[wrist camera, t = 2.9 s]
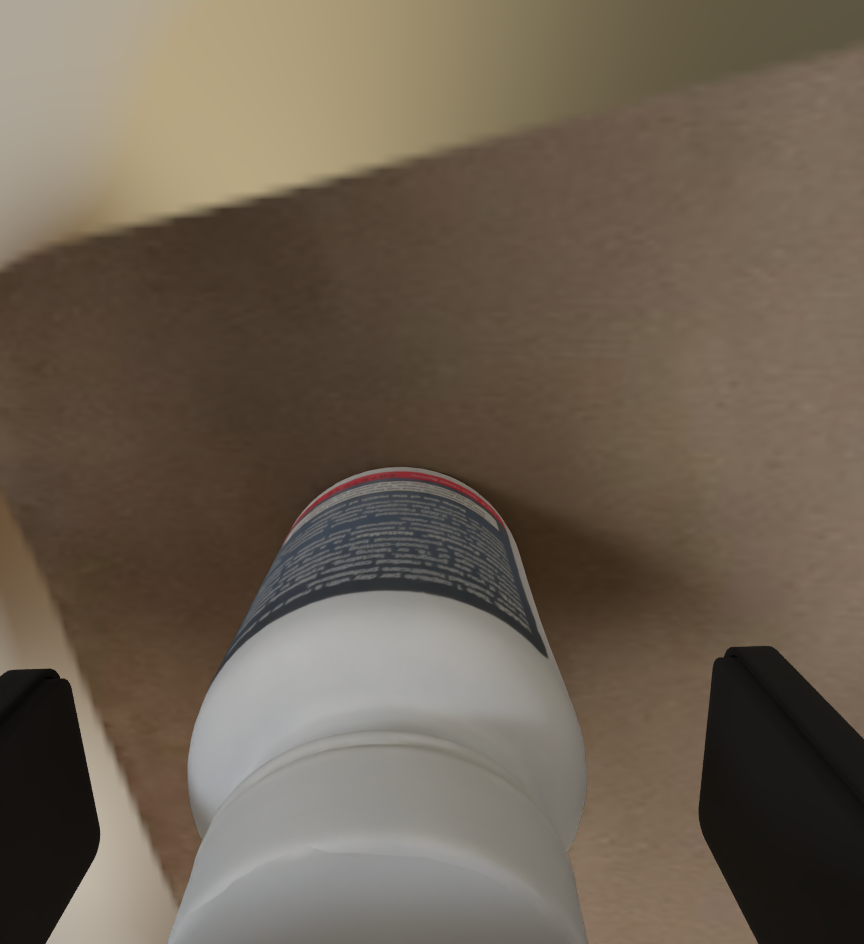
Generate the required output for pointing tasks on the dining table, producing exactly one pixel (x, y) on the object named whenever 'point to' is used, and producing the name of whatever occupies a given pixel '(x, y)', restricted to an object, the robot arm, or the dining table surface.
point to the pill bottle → (388, 738)
